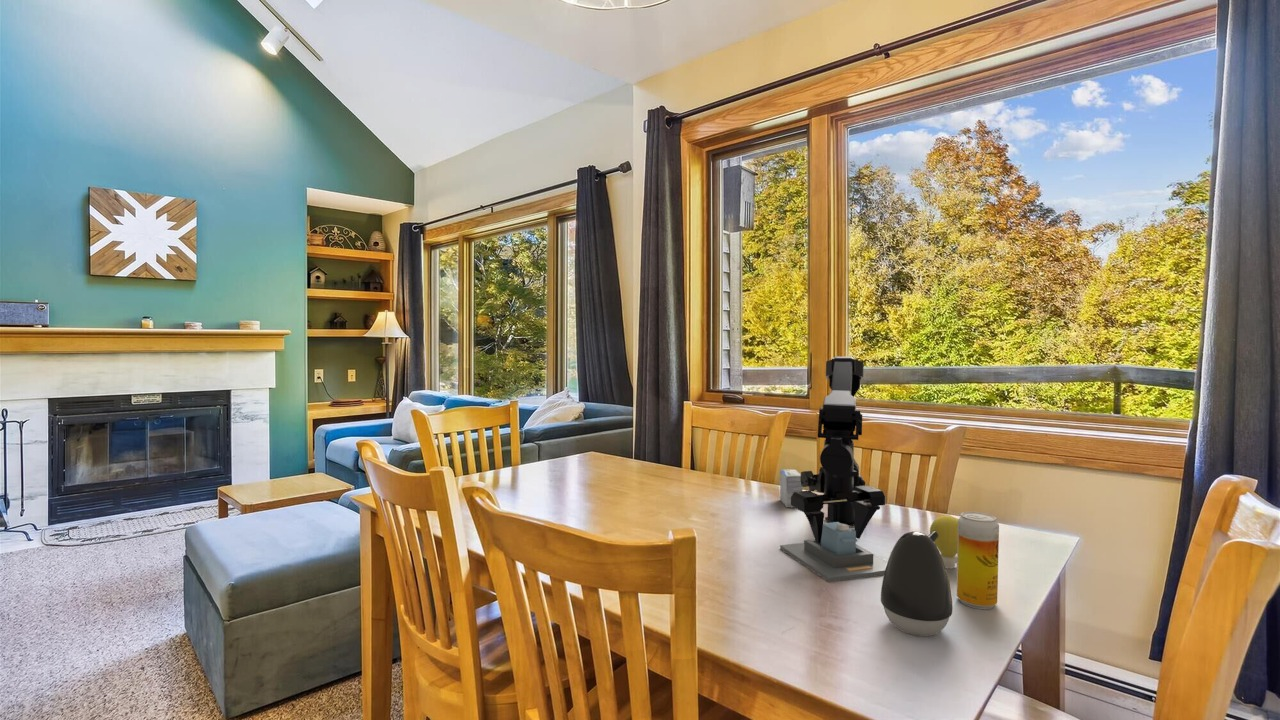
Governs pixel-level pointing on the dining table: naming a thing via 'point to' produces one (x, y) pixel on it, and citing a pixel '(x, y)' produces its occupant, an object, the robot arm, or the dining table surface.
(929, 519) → the dining table surface
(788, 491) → the medicine box
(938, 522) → the light bulb
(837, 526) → the block
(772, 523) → the dining table surface
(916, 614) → the dark egg-shaped diffuser
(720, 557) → the dining table surface
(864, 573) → the chassis plate
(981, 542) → the beer can
